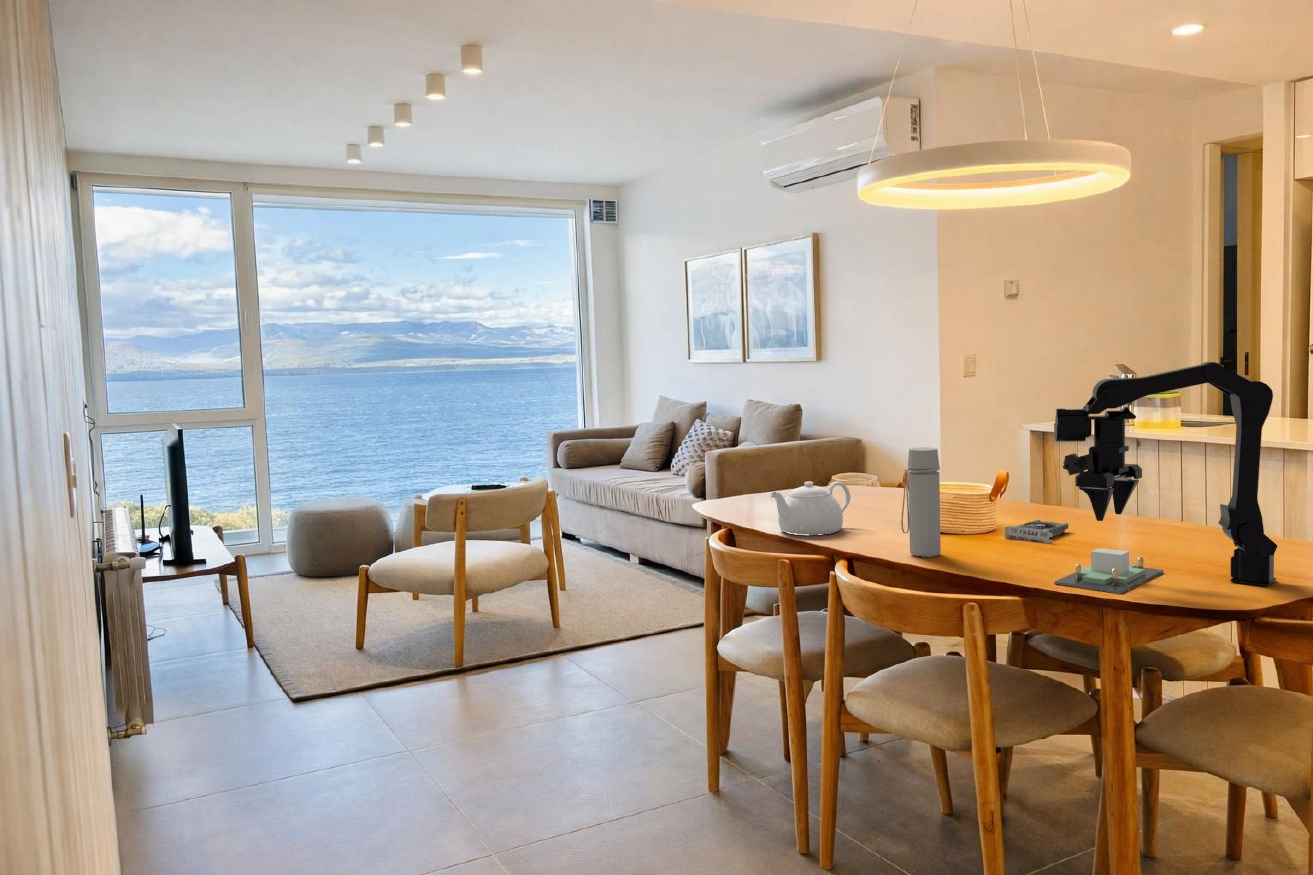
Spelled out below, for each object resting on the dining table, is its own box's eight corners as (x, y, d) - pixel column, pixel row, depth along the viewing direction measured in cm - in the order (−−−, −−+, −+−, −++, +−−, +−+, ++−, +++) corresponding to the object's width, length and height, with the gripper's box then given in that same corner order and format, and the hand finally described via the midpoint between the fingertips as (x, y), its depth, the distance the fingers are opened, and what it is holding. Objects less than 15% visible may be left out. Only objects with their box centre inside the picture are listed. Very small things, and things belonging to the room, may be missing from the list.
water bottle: (945, 552, 231) (944, 447, 229) (936, 559, 224) (934, 451, 222) (907, 549, 236) (905, 446, 233) (896, 556, 229) (894, 450, 227)
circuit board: (1150, 571, 202) (1150, 547, 202) (1119, 586, 191) (1119, 561, 191) (1101, 565, 209) (1101, 542, 209) (1068, 579, 199) (1068, 555, 198)
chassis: (1163, 572, 203) (1163, 555, 203) (1120, 593, 188) (1120, 575, 188) (1099, 564, 213) (1099, 548, 212) (1054, 584, 198) (1054, 566, 197)
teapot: (840, 538, 253) (839, 486, 252) (770, 536, 259) (769, 486, 258) (851, 525, 271) (850, 476, 269) (786, 524, 277) (784, 476, 276)
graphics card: (1050, 532, 235) (1003, 525, 244) (1050, 547, 235) (1003, 540, 244) (1081, 522, 246) (1035, 516, 255) (1080, 536, 247) (1034, 530, 256)
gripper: (1088, 435, 210) (1088, 507, 212) (1049, 443, 197) (1049, 520, 199) (1143, 437, 202) (1142, 512, 203) (1105, 446, 189) (1105, 526, 191)
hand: (1109, 517), depth 199 cm, fingers open, 9 cm apart
